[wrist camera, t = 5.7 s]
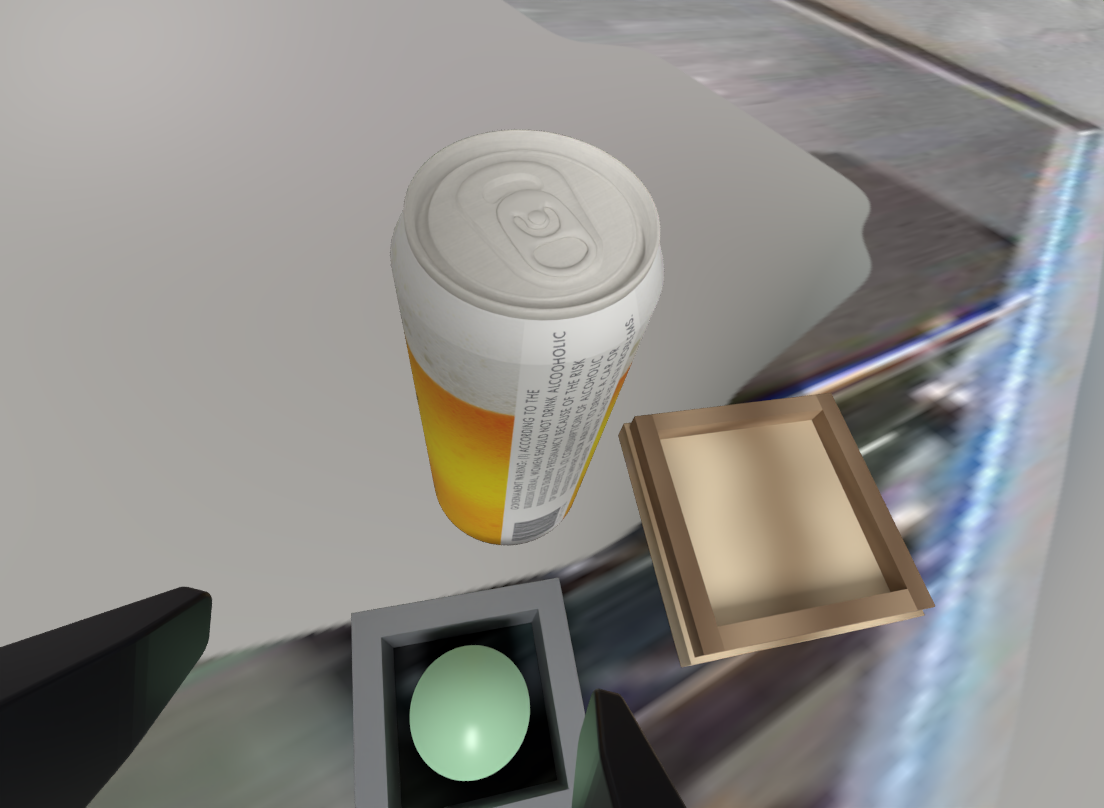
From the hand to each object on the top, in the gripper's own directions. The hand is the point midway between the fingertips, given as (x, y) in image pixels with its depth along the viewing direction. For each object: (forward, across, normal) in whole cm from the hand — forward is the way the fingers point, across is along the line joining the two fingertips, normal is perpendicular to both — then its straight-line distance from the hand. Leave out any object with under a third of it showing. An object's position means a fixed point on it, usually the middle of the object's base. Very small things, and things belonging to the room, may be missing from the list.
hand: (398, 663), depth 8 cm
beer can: (+16, 0, +4) cm, 16 cm away
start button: (+9, -1, +9) cm, 12 cm away
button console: (+10, -1, +10) cm, 14 cm away
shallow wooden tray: (+16, -11, +3) cm, 20 cm away
